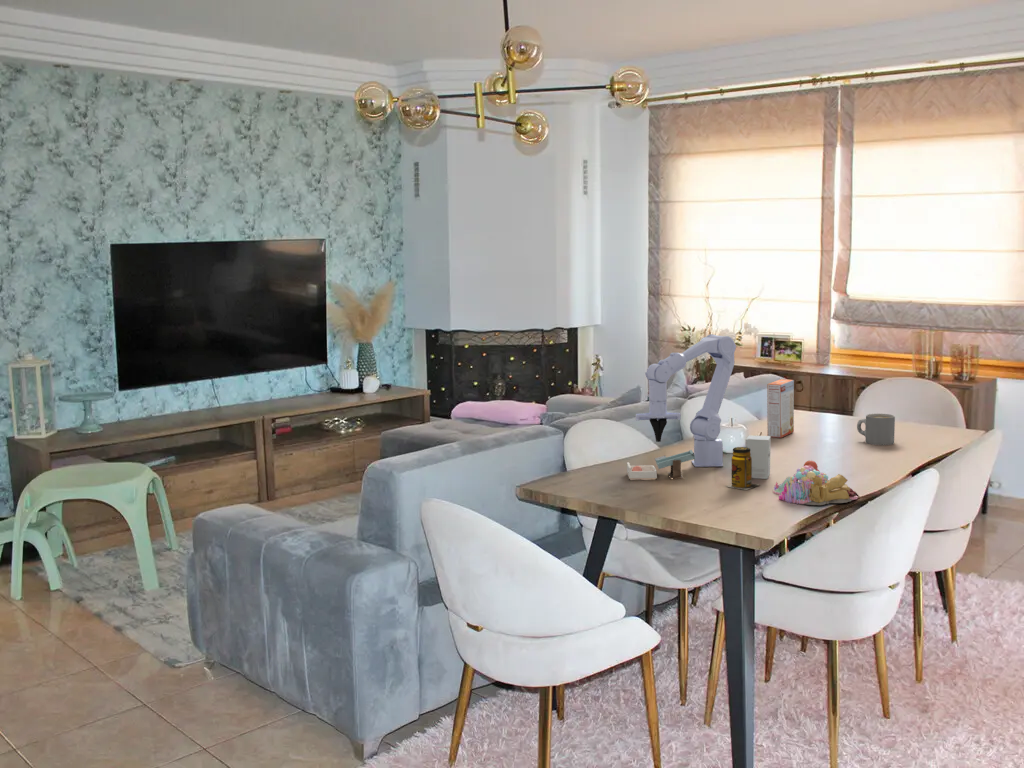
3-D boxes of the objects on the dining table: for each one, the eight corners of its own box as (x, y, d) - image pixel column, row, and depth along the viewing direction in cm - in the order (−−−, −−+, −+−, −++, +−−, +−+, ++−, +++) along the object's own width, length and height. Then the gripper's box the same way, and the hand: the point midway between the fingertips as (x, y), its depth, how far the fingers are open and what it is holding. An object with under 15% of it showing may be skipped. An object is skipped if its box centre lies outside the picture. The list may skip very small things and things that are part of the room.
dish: (653, 473, 324) (653, 461, 324) (656, 479, 316) (656, 467, 315) (627, 474, 325) (627, 462, 324) (629, 480, 316) (629, 468, 315)
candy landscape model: (874, 500, 286) (875, 468, 285) (815, 512, 275) (816, 479, 274) (809, 483, 308) (809, 454, 307) (752, 493, 297) (752, 463, 295)
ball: (629, 468, 322) (635, 476, 322) (630, 471, 318) (636, 478, 319) (637, 462, 321) (643, 470, 321) (638, 465, 318) (644, 472, 318)
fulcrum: (680, 473, 324) (680, 455, 323) (683, 479, 316) (683, 460, 315) (667, 473, 324) (667, 455, 323) (670, 479, 316) (670, 461, 315)
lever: (689, 451, 328) (688, 445, 328) (695, 458, 316) (693, 452, 316) (654, 460, 329) (653, 455, 329) (658, 468, 317) (657, 463, 317)
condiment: (725, 486, 305) (725, 448, 303) (741, 481, 311) (741, 444, 309) (745, 490, 300) (746, 451, 298) (761, 485, 305) (761, 447, 304)
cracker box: (779, 431, 392) (780, 378, 390) (794, 432, 389) (795, 379, 386) (765, 437, 381) (766, 383, 378) (781, 438, 378) (781, 384, 375)
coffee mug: (899, 442, 365) (900, 415, 363) (884, 446, 359) (884, 419, 357) (867, 437, 375) (867, 411, 374) (851, 441, 369) (852, 414, 368)
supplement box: (768, 479, 313) (768, 440, 311) (744, 478, 316) (744, 438, 314) (770, 474, 320) (771, 435, 318) (747, 472, 322) (747, 434, 321)
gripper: (637, 402, 322) (637, 444, 324) (682, 401, 321) (682, 443, 323) (634, 399, 329) (635, 439, 331) (678, 398, 328) (678, 439, 330)
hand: (658, 441), depth 327 cm, fingers closed
